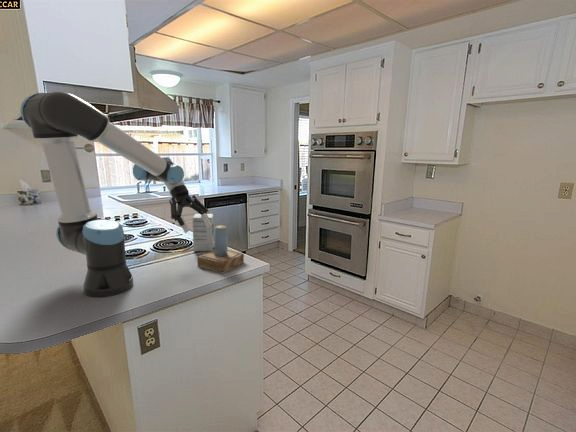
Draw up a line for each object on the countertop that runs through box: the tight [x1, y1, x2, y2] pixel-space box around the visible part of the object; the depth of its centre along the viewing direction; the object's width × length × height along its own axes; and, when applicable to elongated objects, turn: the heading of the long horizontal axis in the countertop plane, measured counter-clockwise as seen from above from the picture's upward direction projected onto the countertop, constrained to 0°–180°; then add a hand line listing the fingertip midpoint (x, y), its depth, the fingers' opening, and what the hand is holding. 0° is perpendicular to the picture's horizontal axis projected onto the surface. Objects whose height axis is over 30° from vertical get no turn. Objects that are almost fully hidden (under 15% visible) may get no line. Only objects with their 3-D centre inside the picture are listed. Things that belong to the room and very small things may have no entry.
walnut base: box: [197, 249, 245, 274], centre depth 131 cm, size 14×14×4 cm
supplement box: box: [191, 213, 215, 252], centre depth 147 cm, size 10×9×17 cm
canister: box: [213, 225, 228, 257], centre depth 129 cm, size 6×6×13 cm
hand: (199, 228), depth 133 cm, fingers open, 13 cm apart
